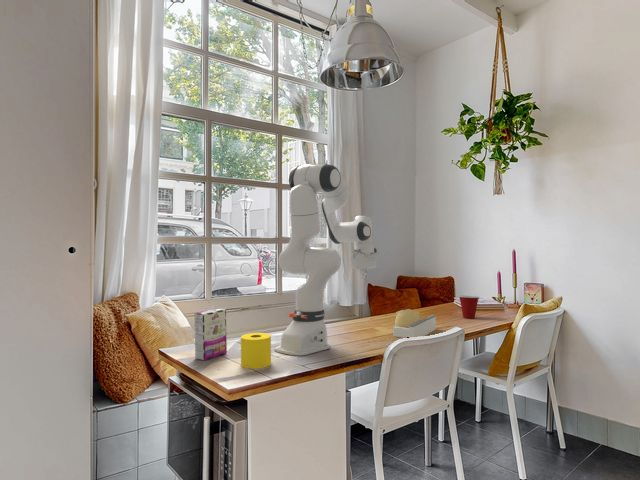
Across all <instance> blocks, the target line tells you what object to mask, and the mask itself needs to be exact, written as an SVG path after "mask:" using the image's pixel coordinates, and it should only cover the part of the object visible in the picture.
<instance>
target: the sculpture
mask: <svg viewBox="0 0 640 480" xmlns="http://www.w3.org/2000/svg"><path fill="white" fill-rule="evenodd" d="M395 314H396V316H395V320H394V327H395V326H396V327H405V328H409V327H410V325H411V324H413V323H415V322H418V321H420V320H422V318H421V316H422V313H421V312H418V311H416V310H413V309H410V308H406V309H401V310H398V311H396V312H395Z"/></svg>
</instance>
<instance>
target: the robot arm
mask: <svg viewBox="0 0 640 480" xmlns="http://www.w3.org/2000/svg"><path fill="white" fill-rule="evenodd" d="M287 179H288V184H289V187H290V189H291V190H290V192H289V193H290V194H289V214H290V215H289V216H290V217H289V218H290V229H291V230H290V235H291V236H290V240H289V241H288V243H287V245H286V246H285V247H284V249H282V250H281V252H280V254H279V255H278V265H279V268H280V269H281V271H282V272H283V273H287V274H291V275H303V276H304V275H308V279H307V282H305V283H303V284H301V285H299V286H297V289H296V290H295V309H294V311H293V312H289V313H288V317H289V318H291V319H292V321H291V322H290V323H289V325H288V326H287V328H286V329H285V330H284V331H283V332H282V334H281V340H280V344H279V345H278V346H275V347H274V352H277V353H280V354H285V355H290V356H306V355H310V354H313V353H317V352H321V351H324V350H328V349H331V346H330V344H329V342H328V331H327V330H328V329H327V325H326V324H325V314H326V313H325V309H324V295H325V294H324V293H325V288H326V286H327V284H328V282H329V280H330V279H331V278H332V277H333V276H334V275H336V274H337V272H338V271H339V270H340V268H341V266H342V258H341V255H340V254H339V252H338V250H337V249H334V248H330V247H323V246H320V247H319V246H317V247H316V246H313V247H311V246H309V241H310V240H312V239H314V238H315V237H316V236H318V235H319V233H320V231H321V224H320V223H321V222H320V214H319V213H320V211H319V204H318V199H317V194H319V193H321V194H322V196H323V199H322V201H321V210H322V213H323V217H324V220H325V224H326V226H327V231H328V236H329V239H330V240H331V242H333V243H334V244H336V245H339V244H340V245H341V244H349V243H353V244H354V247H353V248H354V250H353V251H352V254H351V257H350V268H351V270H359V273H360V276H361V279H363V280H365V279H369V278H368V277H369V276H368V274H369V272H370V271H369V270H371V269H376V268H377V266H378V255H377V254H378V248H376V247H375V246H374V242H373V235H374V234H373V225H372V224H373V222H372V218H371V216H368V215H362V214H359V215H357V216H355V217H354V220H353V221H346V222H344V221H343V222H342V221H341V222H340V221H339V220H338V219H337V215H336V212H335V211H337V210H340V209H342V208H344V206H345V205H346V204H347V203H348V202H349V199H350V196H351V192H350V189H349V186H348V184H347V182H346V180H345V178H344V175H342V173H341V171H340V170H339V169H338V167H336V166H335V165H333V164H328V163H327V164H316V163H314V164H313V163H309V164H304V165H301V164H300V165H297V166H296V165H295V166H294V167H292V168H291V169H290V171H289V173H288V178H287Z"/></svg>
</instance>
